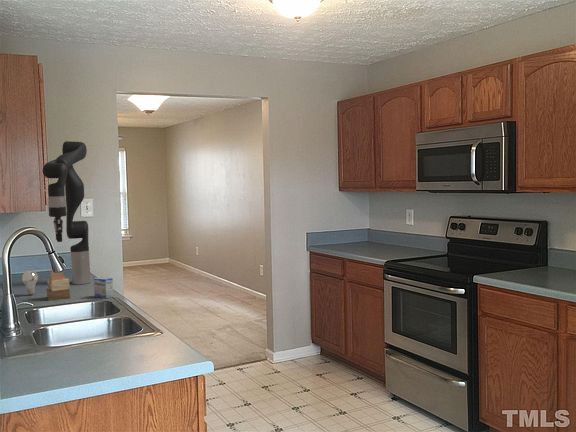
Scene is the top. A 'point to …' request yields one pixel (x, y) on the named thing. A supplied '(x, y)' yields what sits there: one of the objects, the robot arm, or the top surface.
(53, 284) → the tower top
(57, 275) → the cube
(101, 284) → the medicine box
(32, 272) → the light bulb
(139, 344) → the top surface
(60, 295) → the tower bottom
